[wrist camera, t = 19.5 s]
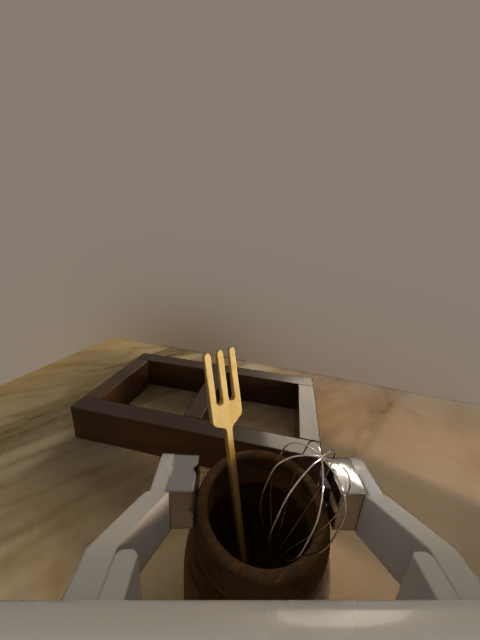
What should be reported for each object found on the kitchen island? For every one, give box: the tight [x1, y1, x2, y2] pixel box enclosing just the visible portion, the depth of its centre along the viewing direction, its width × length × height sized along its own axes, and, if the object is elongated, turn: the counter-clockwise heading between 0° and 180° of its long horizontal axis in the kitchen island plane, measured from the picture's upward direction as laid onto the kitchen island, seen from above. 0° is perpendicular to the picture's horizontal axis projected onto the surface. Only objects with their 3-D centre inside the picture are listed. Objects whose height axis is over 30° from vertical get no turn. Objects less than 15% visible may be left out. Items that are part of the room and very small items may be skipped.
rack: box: [71, 353, 322, 485], centre depth 24 cm, size 10×20×3 cm, turn 78°
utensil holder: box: [184, 347, 351, 600], centre depth 10 cm, size 6×6×12 cm
